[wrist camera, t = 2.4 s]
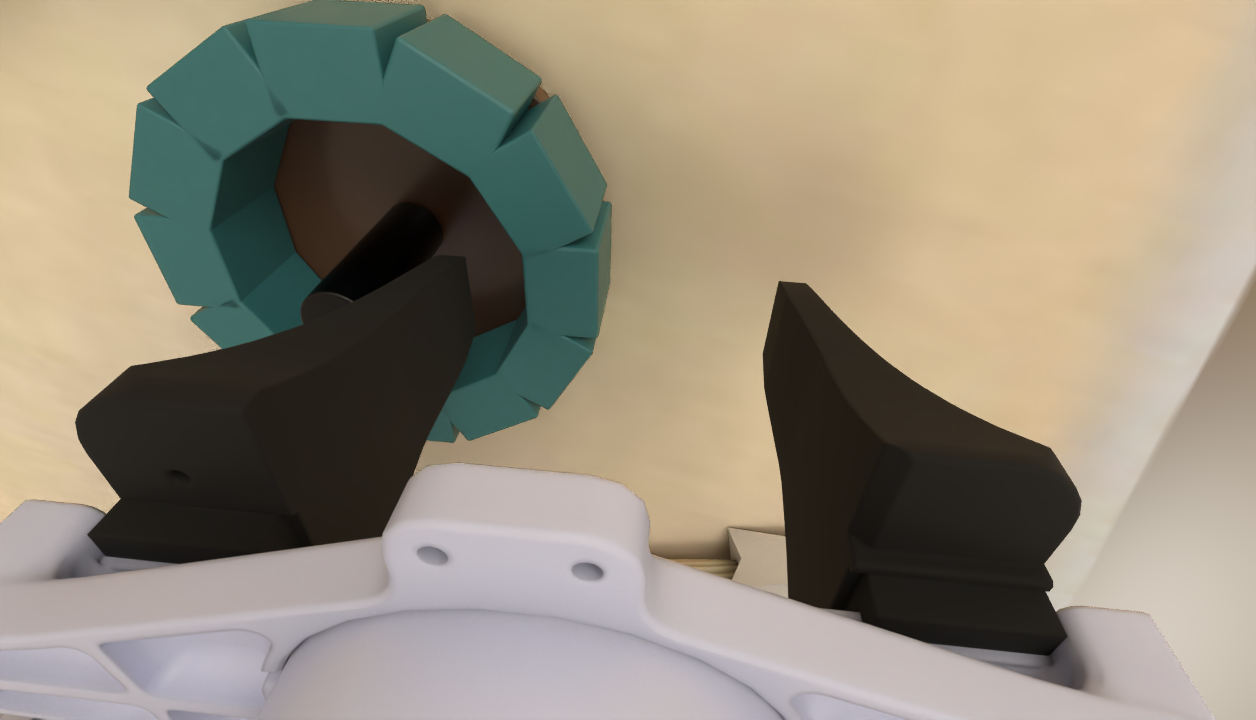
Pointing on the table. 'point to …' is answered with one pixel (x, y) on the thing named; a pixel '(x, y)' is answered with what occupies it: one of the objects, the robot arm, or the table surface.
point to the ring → (412, 108)
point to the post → (389, 218)
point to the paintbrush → (750, 561)
